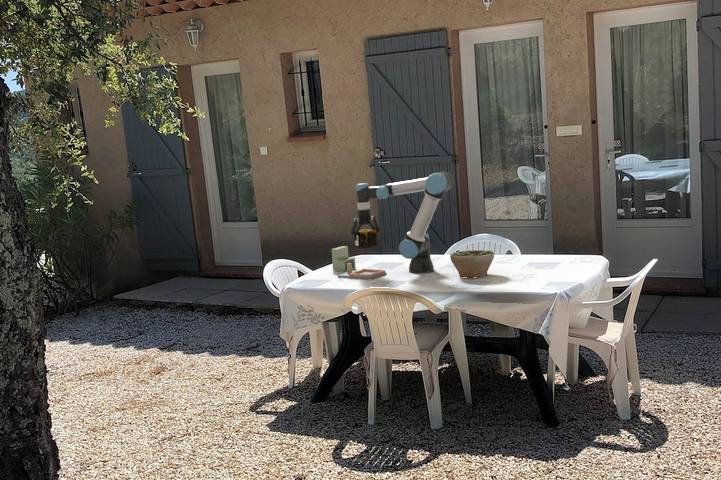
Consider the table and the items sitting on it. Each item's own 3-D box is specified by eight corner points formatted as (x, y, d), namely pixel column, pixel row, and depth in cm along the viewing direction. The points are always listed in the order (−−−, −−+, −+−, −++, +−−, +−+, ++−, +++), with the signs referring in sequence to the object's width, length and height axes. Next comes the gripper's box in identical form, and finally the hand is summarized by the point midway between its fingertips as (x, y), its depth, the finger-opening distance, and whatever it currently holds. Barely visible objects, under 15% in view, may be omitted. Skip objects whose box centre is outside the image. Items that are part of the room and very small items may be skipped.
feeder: (356, 268, 500) (354, 246, 498) (344, 271, 490) (343, 249, 488) (344, 267, 505) (342, 246, 503) (333, 271, 496) (331, 249, 494)
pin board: (386, 274, 472) (385, 262, 471) (371, 279, 459) (370, 267, 458) (353, 272, 487) (352, 260, 486) (337, 277, 474) (336, 265, 473)
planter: (446, 280, 444) (445, 254, 442) (456, 271, 467) (455, 246, 465) (491, 280, 435) (490, 253, 433) (499, 271, 458) (498, 246, 456)
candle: (378, 245, 476) (376, 229, 475) (367, 248, 469) (366, 231, 467) (365, 245, 483) (364, 229, 481) (354, 247, 475) (353, 231, 474)
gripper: (378, 206, 481) (380, 241, 484) (343, 210, 470) (345, 246, 473) (384, 207, 475) (386, 242, 478) (349, 211, 463) (351, 247, 466)
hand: (366, 244), depth 475 cm, fingers closed on candle, 12 cm apart
